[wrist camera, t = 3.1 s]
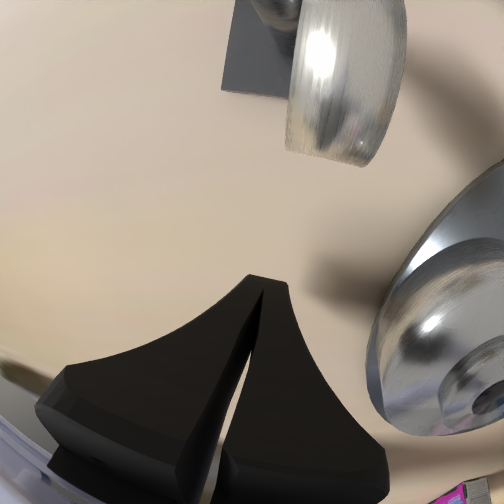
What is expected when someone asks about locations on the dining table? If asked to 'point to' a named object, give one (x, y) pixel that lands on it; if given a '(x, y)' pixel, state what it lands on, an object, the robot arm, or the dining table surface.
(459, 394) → the cover
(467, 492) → the candy bar box
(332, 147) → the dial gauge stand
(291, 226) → the dining table surface
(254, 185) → the dining table surface
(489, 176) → the turntable
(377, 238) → the dining table surface
